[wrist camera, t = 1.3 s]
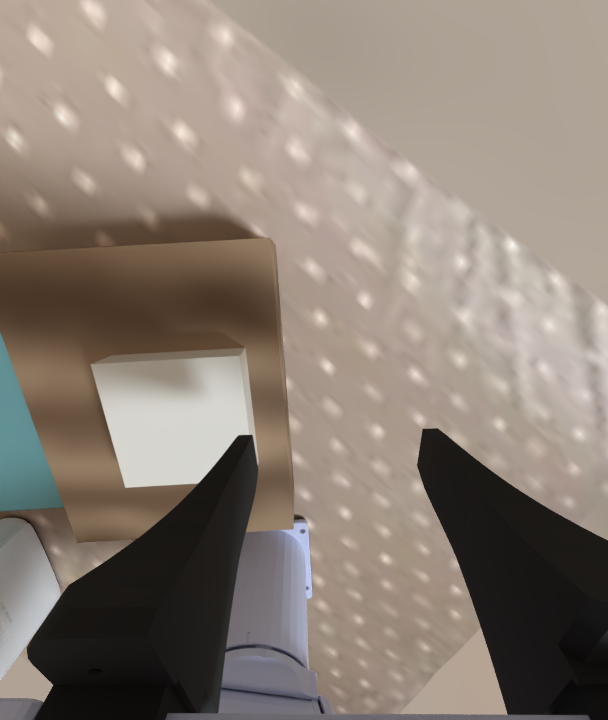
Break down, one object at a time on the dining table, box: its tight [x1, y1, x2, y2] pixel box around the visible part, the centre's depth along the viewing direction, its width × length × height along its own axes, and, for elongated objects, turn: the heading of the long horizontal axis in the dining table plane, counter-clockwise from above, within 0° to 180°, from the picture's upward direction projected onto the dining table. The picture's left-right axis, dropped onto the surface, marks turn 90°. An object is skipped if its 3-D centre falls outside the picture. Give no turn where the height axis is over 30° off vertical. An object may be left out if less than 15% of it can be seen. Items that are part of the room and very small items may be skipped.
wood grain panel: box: [0, 238, 294, 543], centre depth 20 cm, size 20×16×4 cm
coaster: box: [91, 348, 259, 488], centre depth 17 cm, size 8×8×2 cm
